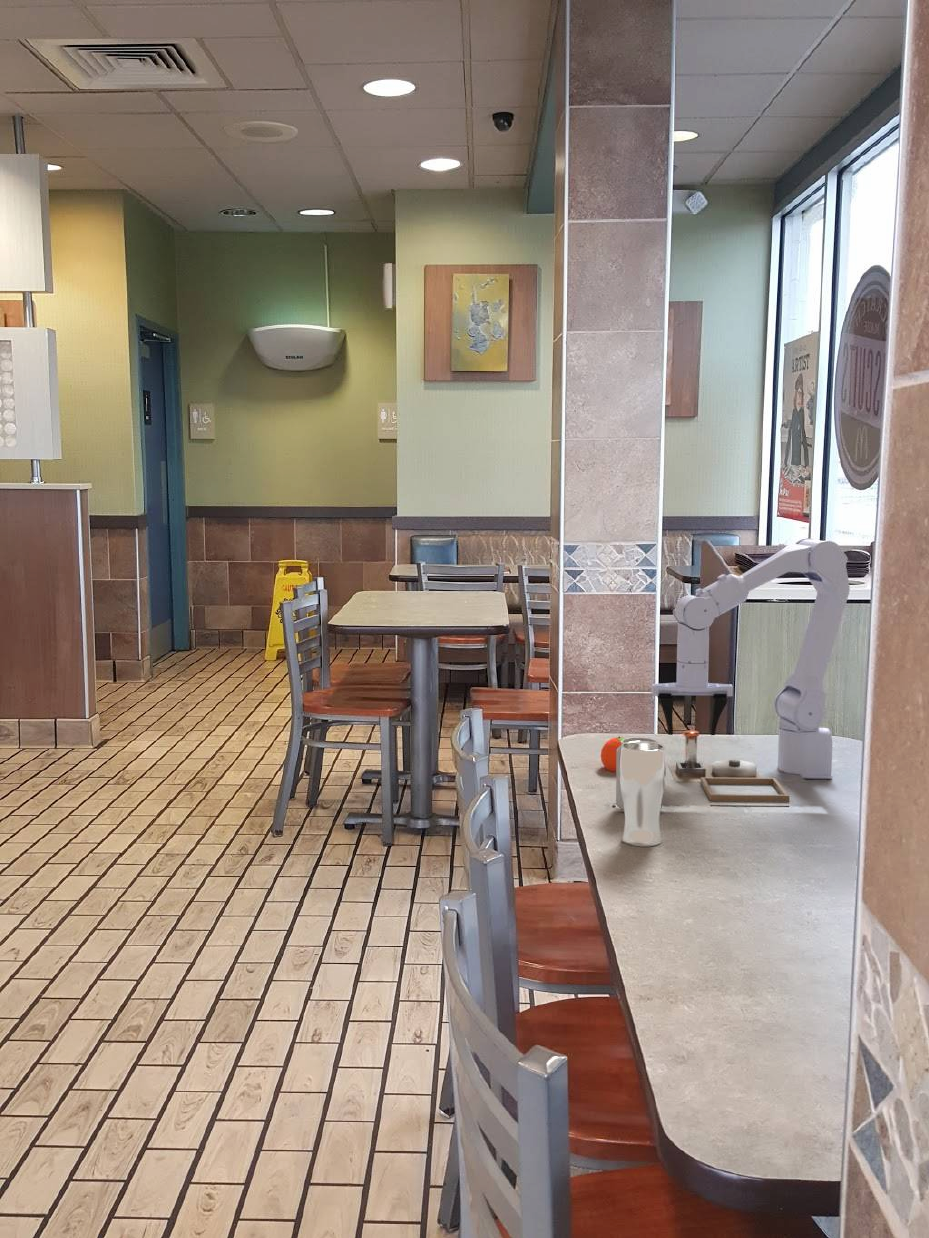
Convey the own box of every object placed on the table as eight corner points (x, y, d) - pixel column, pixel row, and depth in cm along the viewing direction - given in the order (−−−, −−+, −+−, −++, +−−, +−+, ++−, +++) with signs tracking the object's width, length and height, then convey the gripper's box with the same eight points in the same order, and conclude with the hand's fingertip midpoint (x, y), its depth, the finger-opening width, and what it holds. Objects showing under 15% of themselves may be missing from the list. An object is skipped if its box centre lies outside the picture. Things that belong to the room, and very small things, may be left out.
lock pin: (697, 771, 210) (697, 730, 209) (699, 775, 207) (700, 733, 206) (682, 771, 210) (682, 730, 209) (684, 775, 207) (684, 733, 206)
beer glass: (667, 835, 176) (669, 742, 174) (660, 849, 169) (662, 752, 167) (623, 831, 178) (624, 739, 176) (614, 845, 171) (615, 749, 169)
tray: (774, 788, 201) (775, 777, 201) (789, 807, 190) (789, 795, 190) (700, 788, 202) (700, 777, 202) (710, 806, 191) (710, 794, 191)
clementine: (648, 772, 213) (649, 736, 212) (633, 781, 207) (634, 743, 206) (610, 767, 217) (610, 731, 216) (594, 775, 211) (594, 738, 210)
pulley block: (752, 770, 214) (752, 753, 213) (765, 788, 202) (765, 769, 201) (667, 769, 214) (667, 752, 214) (675, 787, 203) (675, 768, 202)
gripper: (728, 658, 209) (727, 729, 211) (650, 657, 210) (649, 728, 212) (735, 664, 202) (733, 738, 204) (654, 663, 203) (653, 737, 205)
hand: (691, 733), depth 207 cm, fingers open, 7 cm apart
